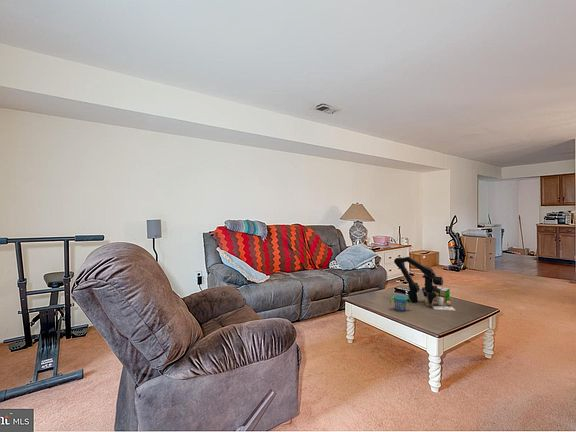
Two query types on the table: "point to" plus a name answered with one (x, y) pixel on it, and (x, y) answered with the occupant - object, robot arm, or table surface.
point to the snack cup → (400, 302)
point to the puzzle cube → (443, 294)
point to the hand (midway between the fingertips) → (428, 302)
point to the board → (443, 308)
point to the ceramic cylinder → (440, 301)
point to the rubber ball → (448, 303)
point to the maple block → (428, 301)
